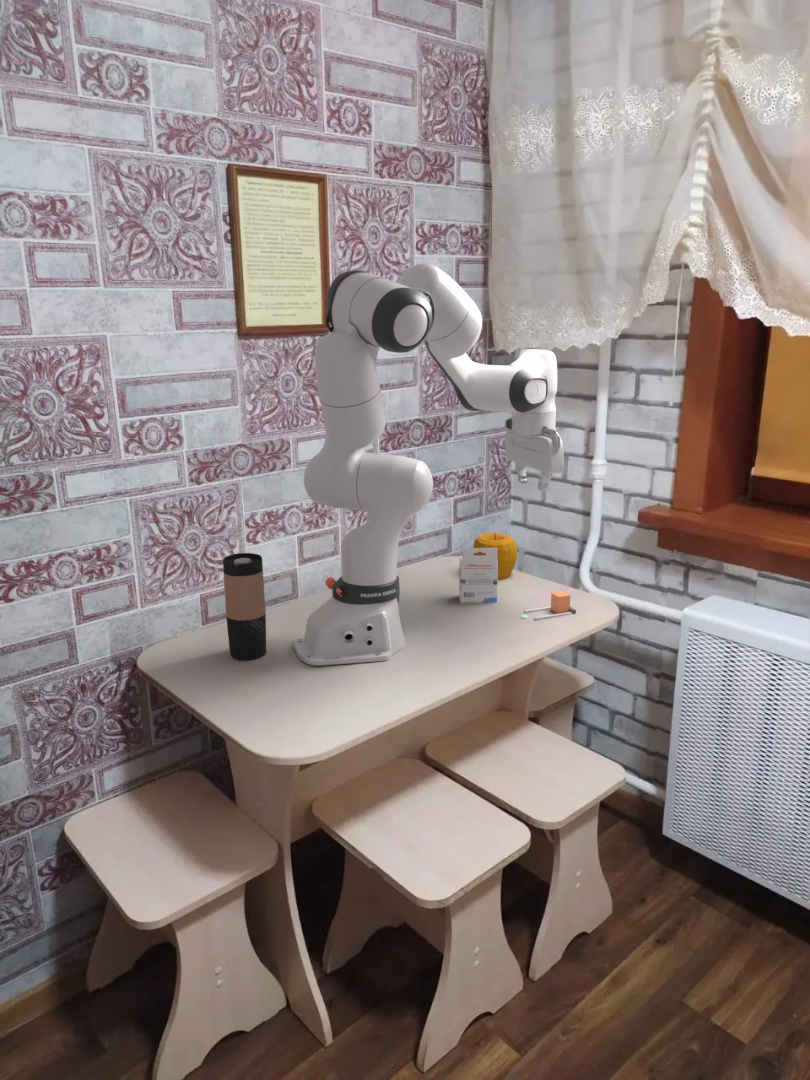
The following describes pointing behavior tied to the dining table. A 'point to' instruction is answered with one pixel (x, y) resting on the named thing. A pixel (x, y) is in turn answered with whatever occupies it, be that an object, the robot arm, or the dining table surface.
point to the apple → (499, 551)
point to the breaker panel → (572, 611)
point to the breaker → (560, 602)
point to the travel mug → (245, 606)
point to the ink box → (478, 576)
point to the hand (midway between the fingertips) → (532, 486)
